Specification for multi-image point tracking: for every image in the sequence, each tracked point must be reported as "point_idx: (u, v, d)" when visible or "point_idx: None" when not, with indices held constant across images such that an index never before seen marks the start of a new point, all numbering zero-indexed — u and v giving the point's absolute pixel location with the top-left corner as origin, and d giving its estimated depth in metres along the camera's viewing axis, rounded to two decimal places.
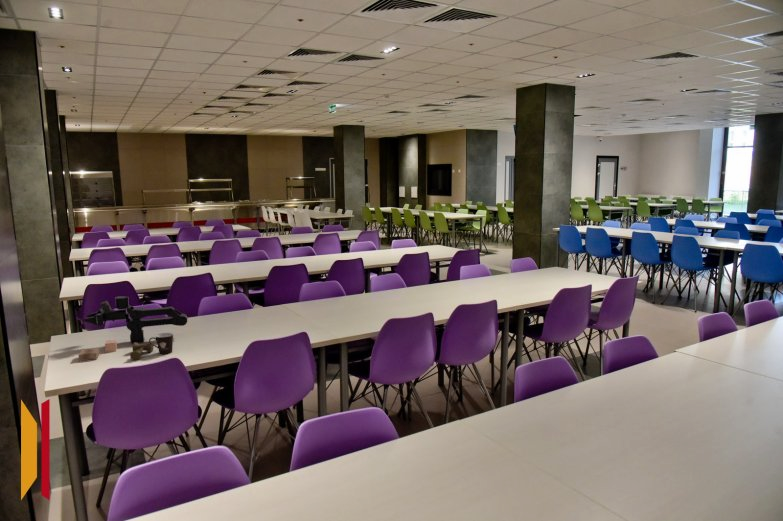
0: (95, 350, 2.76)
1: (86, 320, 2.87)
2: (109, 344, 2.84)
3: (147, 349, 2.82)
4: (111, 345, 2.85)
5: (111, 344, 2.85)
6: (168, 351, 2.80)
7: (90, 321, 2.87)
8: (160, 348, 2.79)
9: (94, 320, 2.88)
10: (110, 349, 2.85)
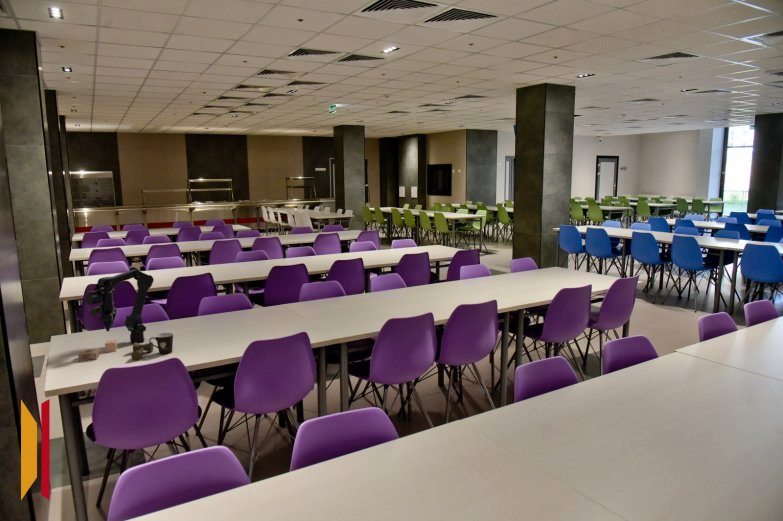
0: (95, 350, 2.76)
1: (108, 328, 2.80)
2: (109, 344, 2.84)
3: (147, 349, 2.82)
4: (111, 345, 2.85)
5: (111, 344, 2.85)
6: (168, 351, 2.80)
7: (108, 325, 2.80)
8: (160, 348, 2.79)
9: (107, 321, 2.79)
10: (110, 349, 2.85)
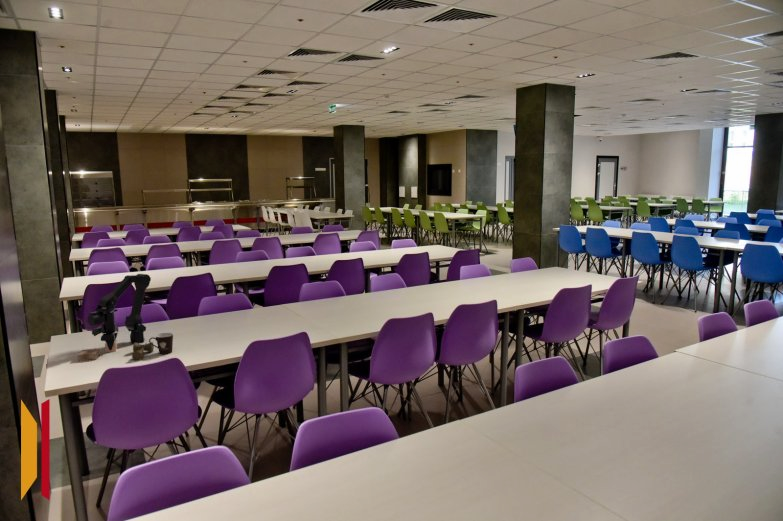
0: (95, 350, 2.76)
1: (110, 347, 2.84)
2: None
3: (148, 349, 2.82)
4: None
5: None
6: (168, 351, 2.80)
7: (111, 344, 2.83)
8: (160, 348, 2.79)
9: (110, 340, 2.83)
10: None
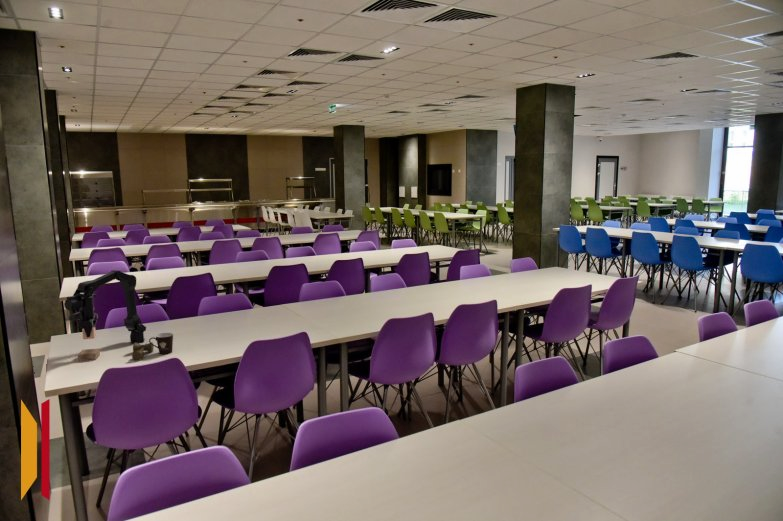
0: (95, 350, 2.76)
1: (88, 334, 2.71)
2: None
3: (148, 349, 2.82)
4: None
5: None
6: (168, 351, 2.80)
7: (89, 331, 2.71)
8: (160, 348, 2.79)
9: (88, 327, 2.70)
10: None
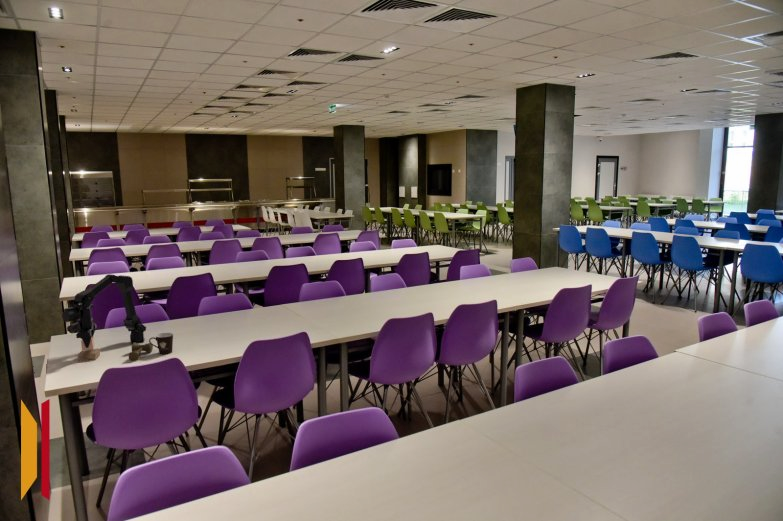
0: (95, 350, 2.76)
1: (87, 345, 2.71)
2: None
3: (146, 349, 2.82)
4: None
5: None
6: (168, 351, 2.80)
7: (88, 341, 2.70)
8: (160, 348, 2.79)
9: (86, 338, 2.70)
10: None
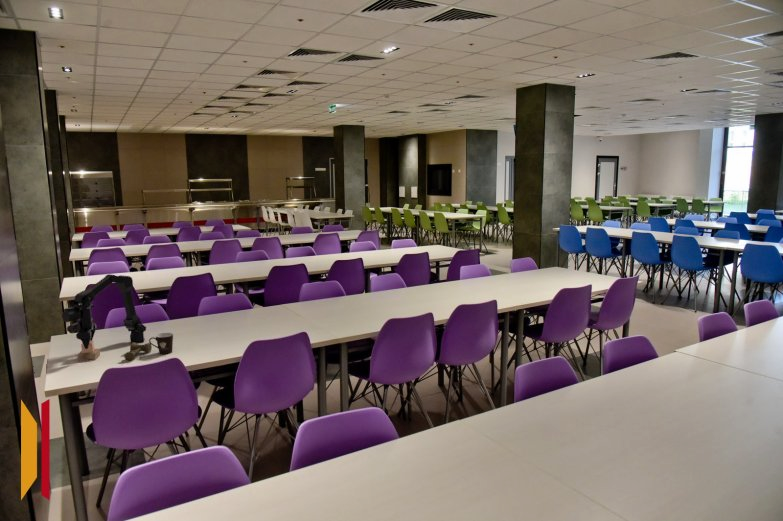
0: (95, 350, 2.76)
1: (86, 346, 2.69)
2: None
3: (144, 350, 2.81)
4: None
5: None
6: (168, 351, 2.80)
7: (87, 342, 2.68)
8: (160, 348, 2.79)
9: (86, 339, 2.68)
10: (86, 350, 2.72)
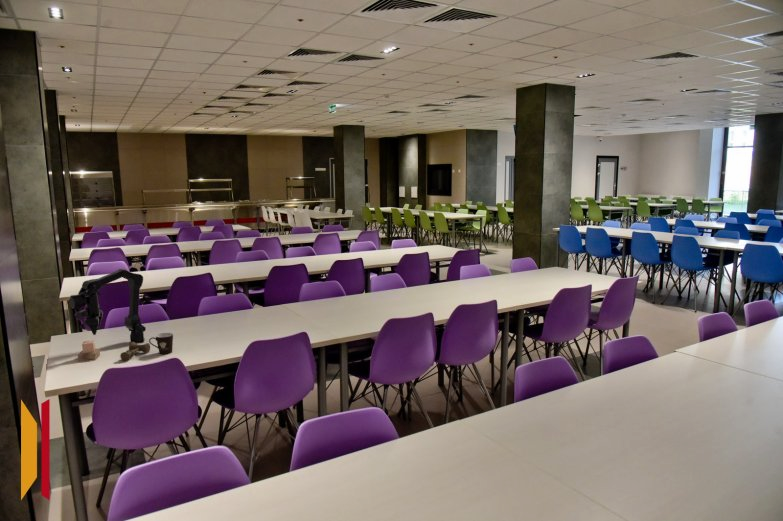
0: (95, 350, 2.76)
1: (94, 332, 2.77)
2: (87, 344, 2.72)
3: (142, 350, 2.81)
4: (89, 345, 2.72)
5: (89, 344, 2.72)
6: (168, 351, 2.80)
7: (95, 328, 2.76)
8: (160, 348, 2.79)
9: (94, 325, 2.75)
10: (87, 350, 2.72)
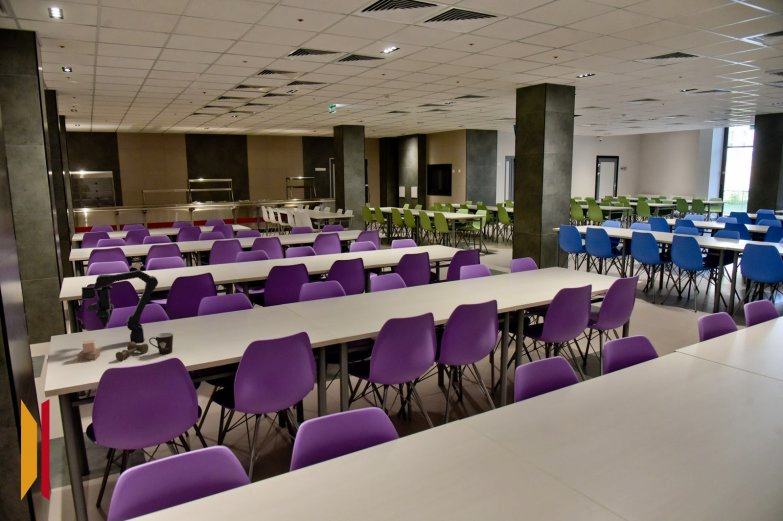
0: (95, 350, 2.75)
1: (105, 324, 2.89)
2: (87, 344, 2.72)
3: (139, 350, 2.81)
4: (89, 345, 2.72)
5: (89, 344, 2.72)
6: (168, 351, 2.80)
7: (105, 321, 2.88)
8: (160, 348, 2.79)
9: (104, 317, 2.88)
10: (88, 349, 2.72)
